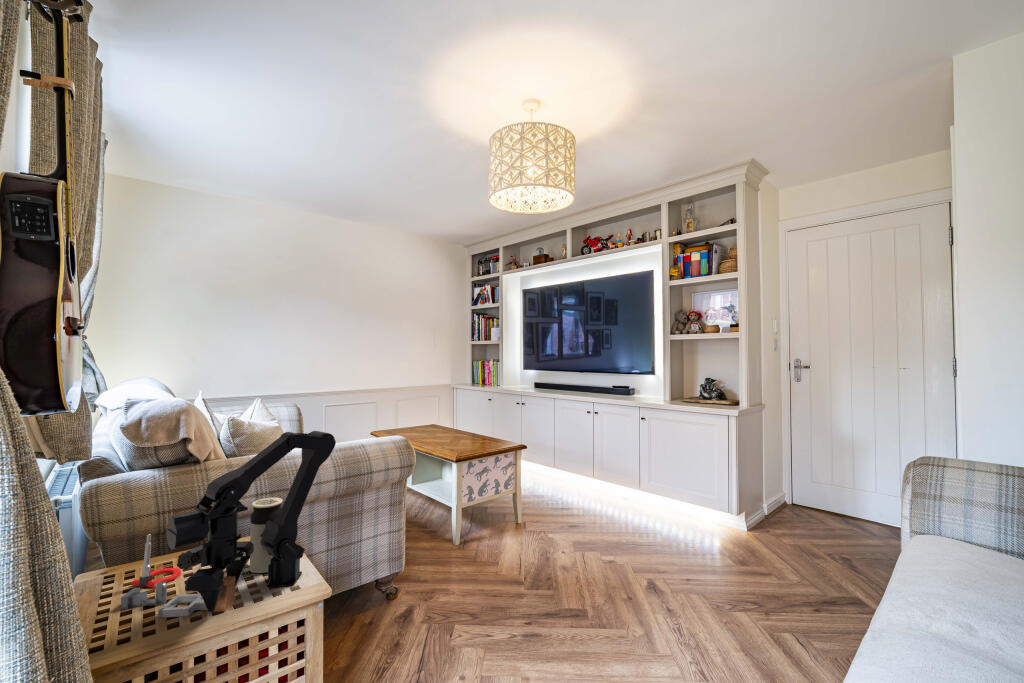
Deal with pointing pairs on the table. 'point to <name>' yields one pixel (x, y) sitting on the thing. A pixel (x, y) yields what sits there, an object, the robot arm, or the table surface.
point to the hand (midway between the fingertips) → (221, 600)
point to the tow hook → (147, 575)
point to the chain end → (199, 601)
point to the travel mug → (259, 518)
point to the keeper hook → (144, 597)
